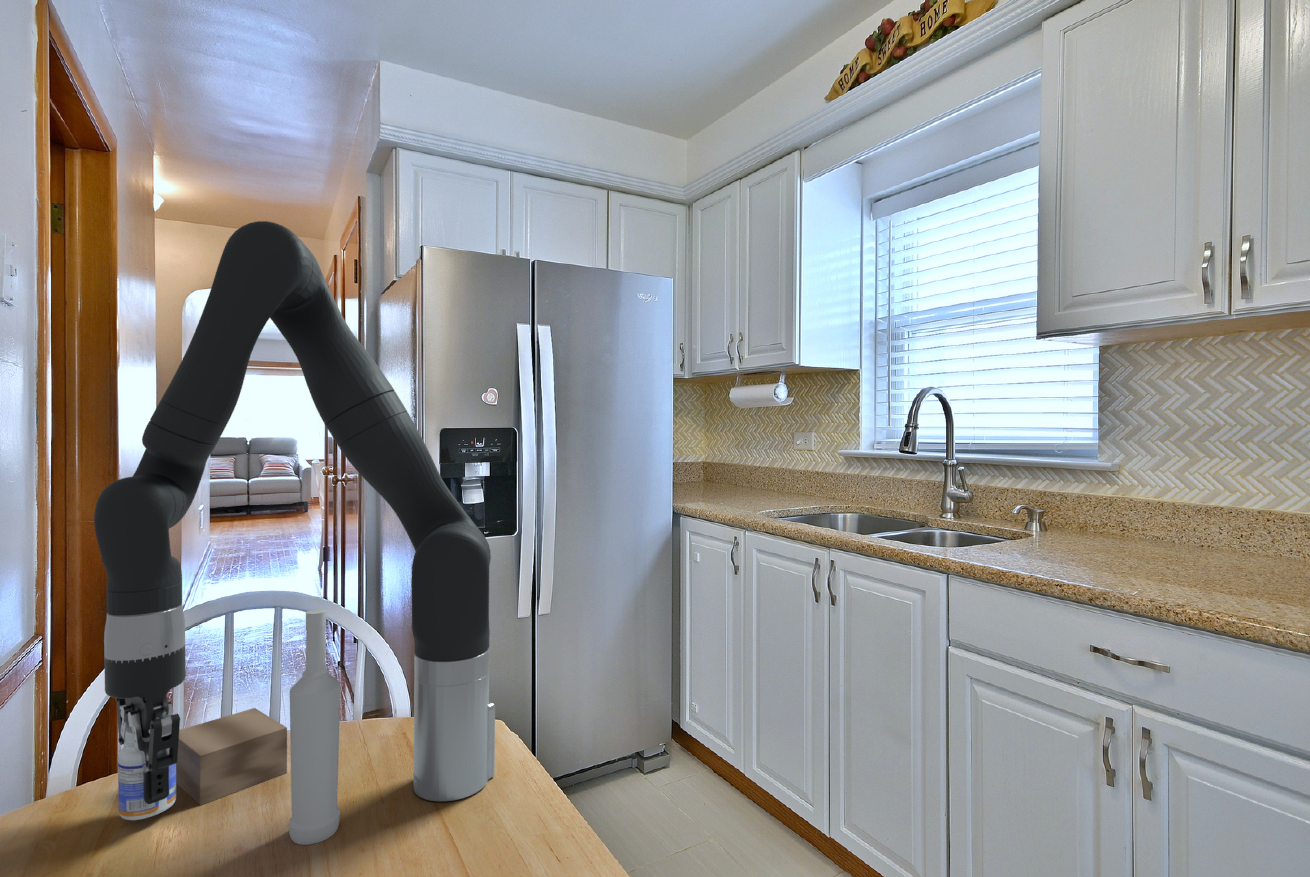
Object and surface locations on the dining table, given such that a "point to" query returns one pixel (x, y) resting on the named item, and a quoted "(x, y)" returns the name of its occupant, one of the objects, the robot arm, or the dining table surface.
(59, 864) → the dining table surface
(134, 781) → the pill bottle
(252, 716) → the walnut block
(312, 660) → the bottle
